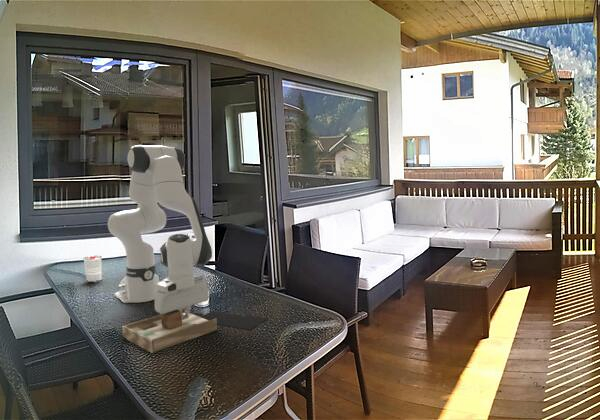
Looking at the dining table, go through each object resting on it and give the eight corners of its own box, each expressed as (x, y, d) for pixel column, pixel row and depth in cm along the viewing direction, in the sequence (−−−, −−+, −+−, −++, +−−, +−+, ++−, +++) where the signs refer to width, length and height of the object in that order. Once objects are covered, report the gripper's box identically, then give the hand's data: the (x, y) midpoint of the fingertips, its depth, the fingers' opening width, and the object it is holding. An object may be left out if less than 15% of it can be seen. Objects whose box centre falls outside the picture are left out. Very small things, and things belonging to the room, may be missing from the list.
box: (122, 337, 161) (122, 326, 161) (186, 317, 179) (185, 307, 179) (151, 353, 148) (150, 340, 147) (217, 329, 166) (216, 318, 165)
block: (162, 326, 164) (160, 312, 163) (174, 322, 167) (173, 308, 166) (169, 330, 160) (168, 316, 159) (182, 325, 164) (181, 311, 163)
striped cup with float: (82, 280, 237) (80, 257, 235) (99, 277, 242) (97, 254, 241) (89, 284, 229) (87, 260, 228) (106, 280, 235) (104, 257, 233)
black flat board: (250, 329, 165) (182, 318, 178) (250, 331, 165) (183, 319, 178) (267, 318, 176) (203, 308, 189) (267, 319, 176) (203, 309, 189)
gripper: (201, 273, 175) (203, 309, 177) (150, 285, 160) (153, 325, 162) (211, 276, 171) (213, 313, 172) (160, 289, 156) (163, 329, 158)
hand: (184, 319), depth 167 cm, fingers closed
